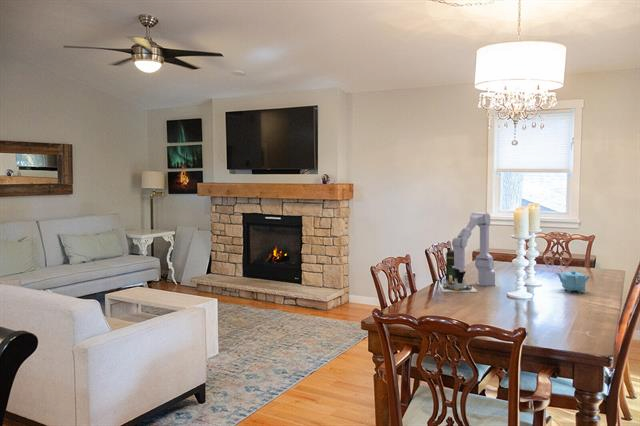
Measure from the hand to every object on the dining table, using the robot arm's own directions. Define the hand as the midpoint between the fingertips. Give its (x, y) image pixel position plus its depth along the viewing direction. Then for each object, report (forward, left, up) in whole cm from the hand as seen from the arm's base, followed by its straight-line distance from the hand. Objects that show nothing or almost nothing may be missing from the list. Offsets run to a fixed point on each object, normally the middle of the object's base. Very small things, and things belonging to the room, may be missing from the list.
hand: (459, 282), depth 292 cm
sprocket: (0, -7, -5) cm, 8 cm away
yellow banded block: (0, 0, -3) cm, 3 cm away
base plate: (0, -7, -5) cm, 8 cm away
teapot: (-62, -3, -5) cm, 62 cm away
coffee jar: (-2, -36, -5) cm, 36 cm away
